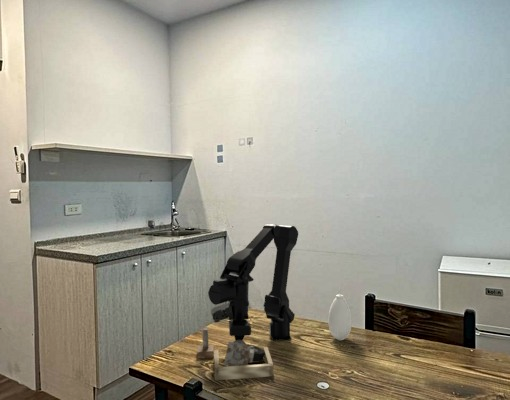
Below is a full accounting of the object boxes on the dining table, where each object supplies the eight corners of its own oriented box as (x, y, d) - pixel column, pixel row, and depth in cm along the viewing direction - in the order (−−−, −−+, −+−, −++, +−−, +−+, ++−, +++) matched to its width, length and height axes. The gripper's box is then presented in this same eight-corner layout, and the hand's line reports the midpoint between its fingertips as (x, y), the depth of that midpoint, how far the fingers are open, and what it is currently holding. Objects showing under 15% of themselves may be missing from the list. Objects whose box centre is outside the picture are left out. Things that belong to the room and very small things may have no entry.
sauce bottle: (354, 337, 126) (354, 286, 126) (347, 345, 119) (347, 292, 119) (333, 333, 130) (332, 283, 130) (325, 340, 124) (324, 288, 123)
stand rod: (213, 350, 117) (213, 326, 117) (213, 357, 112) (213, 332, 112) (198, 351, 117) (197, 326, 117) (197, 358, 112) (196, 333, 112)
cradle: (267, 356, 113) (267, 346, 113) (273, 376, 101) (273, 365, 101) (214, 359, 111) (214, 350, 111) (214, 380, 99) (214, 369, 99)
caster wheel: (261, 362, 114) (262, 373, 104) (226, 355, 114) (223, 365, 104) (265, 341, 115) (266, 350, 105) (230, 333, 115) (228, 342, 105)
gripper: (213, 288, 121) (212, 334, 121) (212, 307, 102) (211, 361, 103) (246, 288, 122) (245, 333, 122) (251, 307, 103) (250, 360, 104)
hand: (237, 346), depth 113 cm, fingers closed
